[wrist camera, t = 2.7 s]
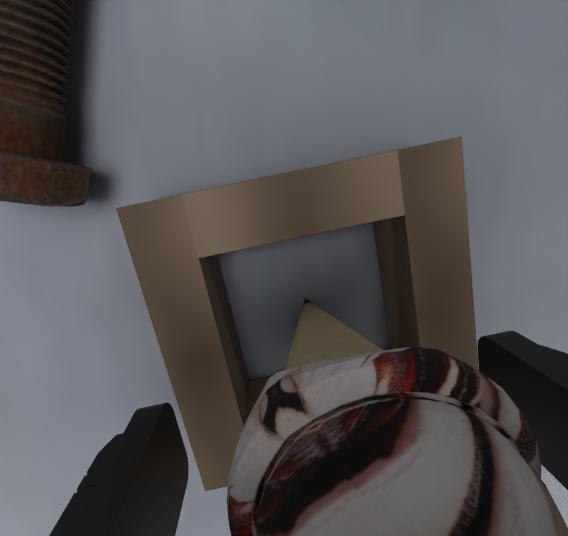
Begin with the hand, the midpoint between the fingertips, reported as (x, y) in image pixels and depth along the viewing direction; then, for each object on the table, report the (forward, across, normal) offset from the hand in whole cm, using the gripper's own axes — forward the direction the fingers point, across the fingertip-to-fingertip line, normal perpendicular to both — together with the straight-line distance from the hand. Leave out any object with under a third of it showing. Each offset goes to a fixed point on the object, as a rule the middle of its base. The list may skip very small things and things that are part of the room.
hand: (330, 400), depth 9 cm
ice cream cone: (+9, -1, 0) cm, 9 cm away
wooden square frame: (+8, -1, 0) cm, 9 cm away
